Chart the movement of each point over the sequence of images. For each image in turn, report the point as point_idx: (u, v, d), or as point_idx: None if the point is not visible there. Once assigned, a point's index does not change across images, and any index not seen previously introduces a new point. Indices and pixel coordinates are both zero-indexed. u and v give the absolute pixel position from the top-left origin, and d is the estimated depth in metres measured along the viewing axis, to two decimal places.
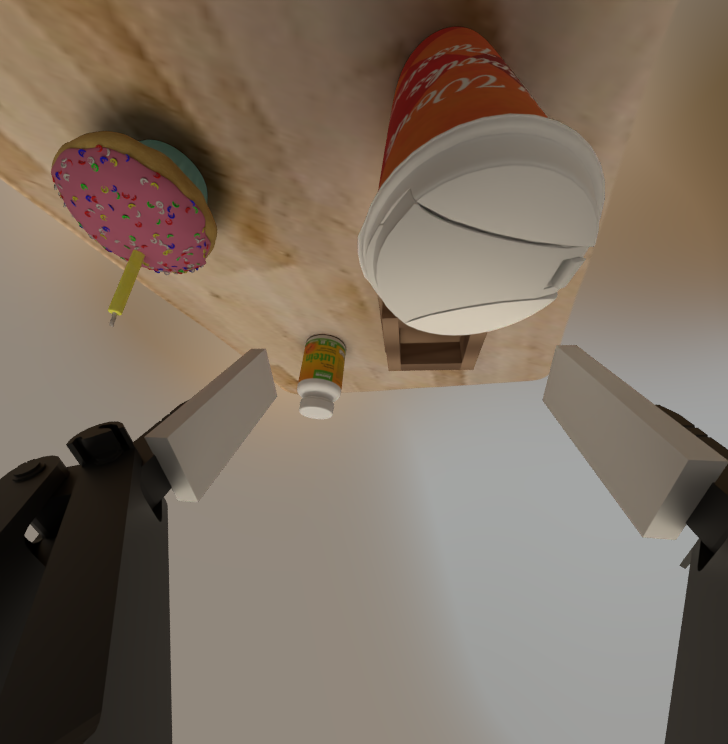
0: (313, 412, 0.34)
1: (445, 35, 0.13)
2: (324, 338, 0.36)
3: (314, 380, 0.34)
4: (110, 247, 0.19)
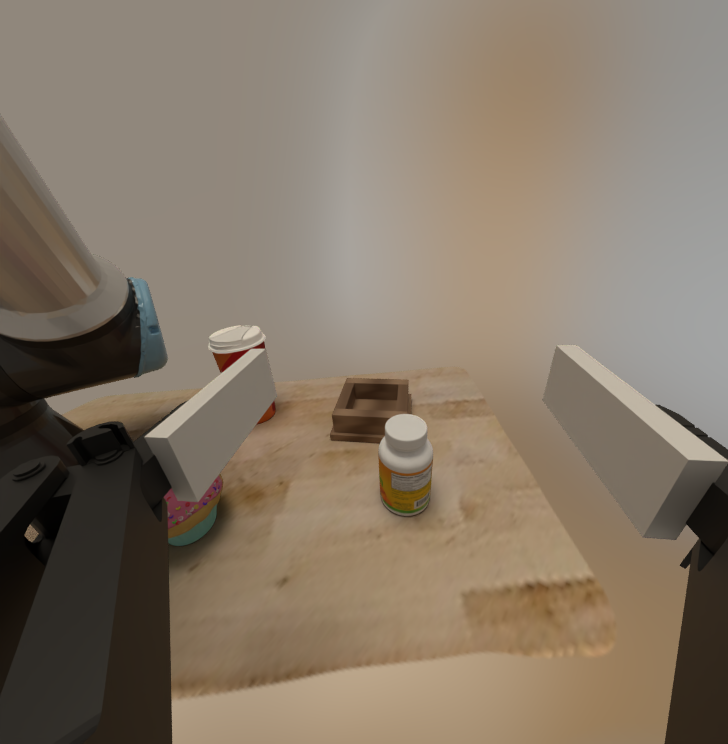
0: (402, 427, 0.27)
1: None
2: None
3: None
4: None
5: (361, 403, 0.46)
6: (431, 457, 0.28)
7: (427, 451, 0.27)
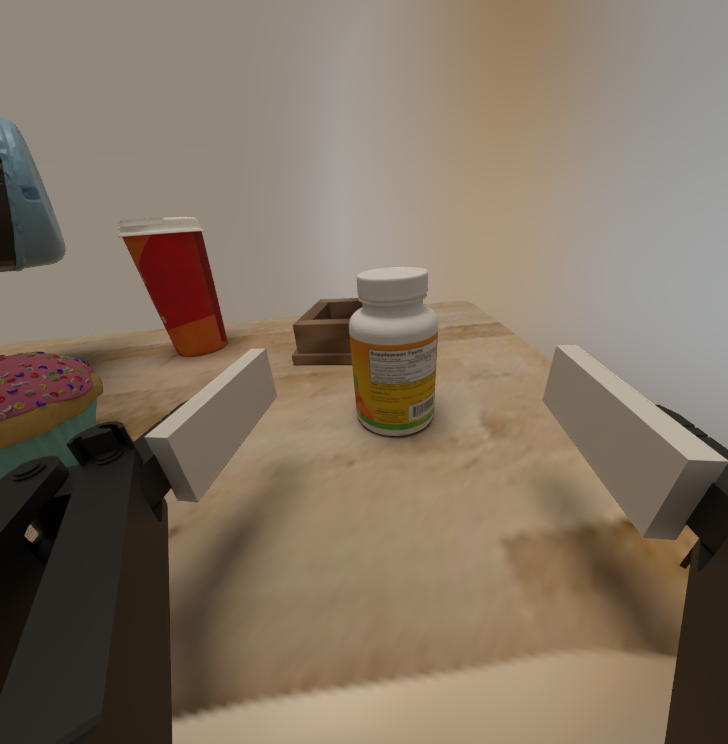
0: (385, 273, 0.16)
1: None
2: None
3: None
4: None
5: None
6: (435, 325, 0.16)
7: (428, 313, 0.16)
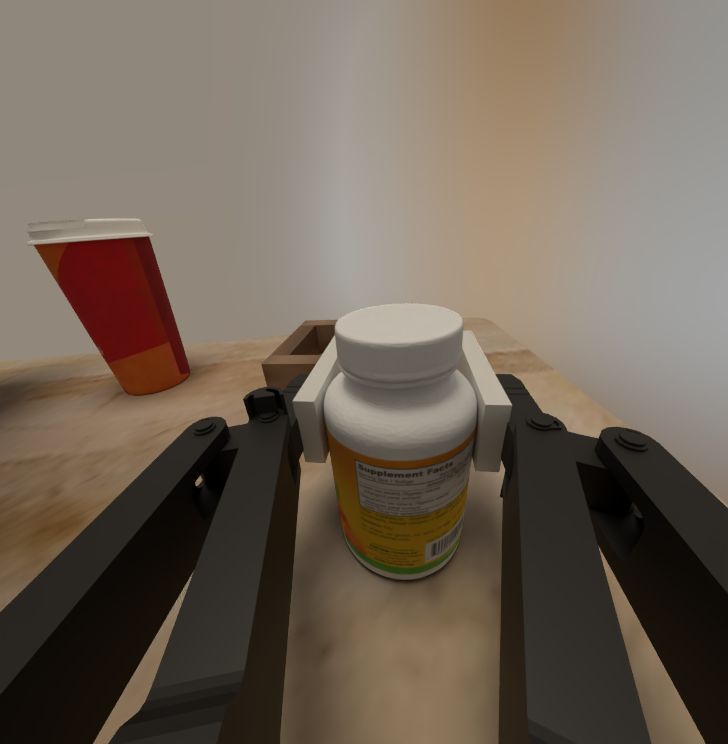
0: (386, 321, 0.09)
1: None
2: None
3: None
4: None
5: None
6: (475, 413, 0.09)
7: (463, 394, 0.09)
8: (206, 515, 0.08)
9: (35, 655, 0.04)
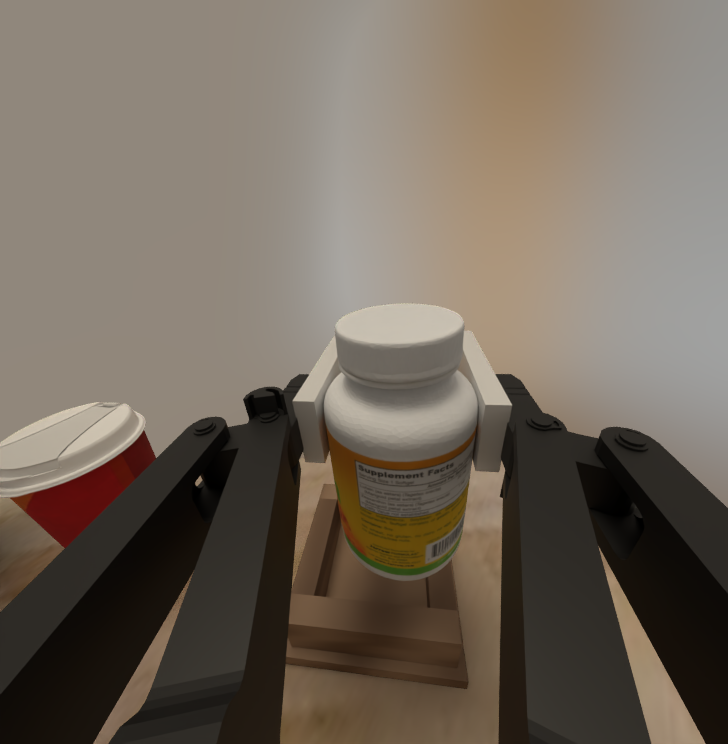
0: (386, 321, 0.09)
1: None
2: None
3: None
4: None
5: None
6: (476, 413, 0.09)
7: (464, 394, 0.09)
8: (206, 515, 0.08)
9: (35, 655, 0.04)
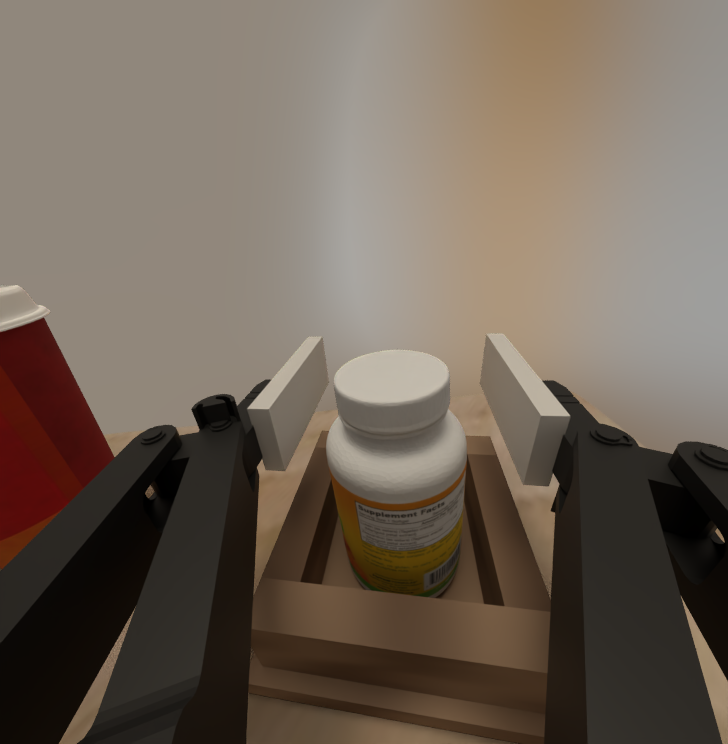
0: (380, 374, 0.10)
1: None
2: None
3: None
4: None
5: None
6: (464, 454, 0.10)
7: (452, 437, 0.10)
8: (160, 525, 0.08)
9: None
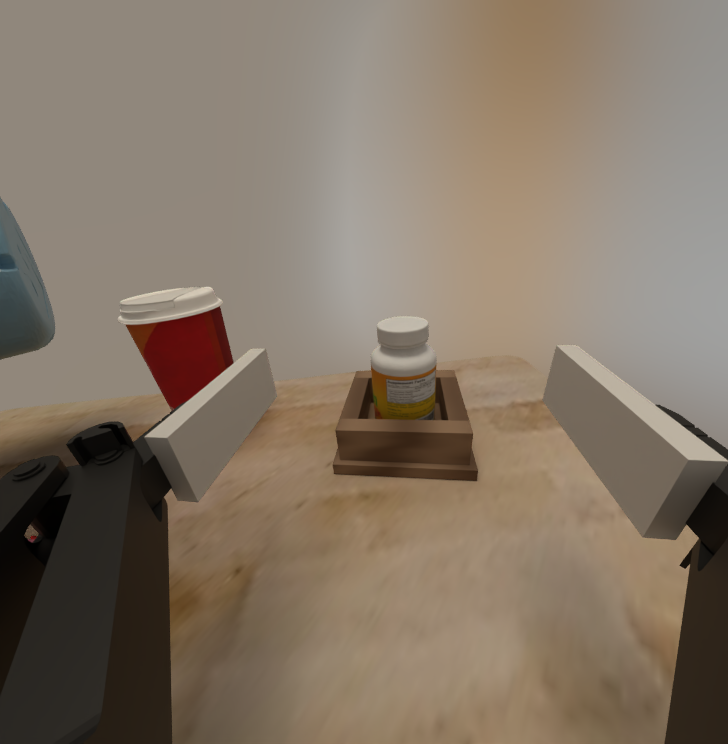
0: (398, 324, 0.22)
1: None
2: None
3: None
4: None
5: None
6: (434, 360, 0.23)
7: (429, 352, 0.23)
8: None
9: None
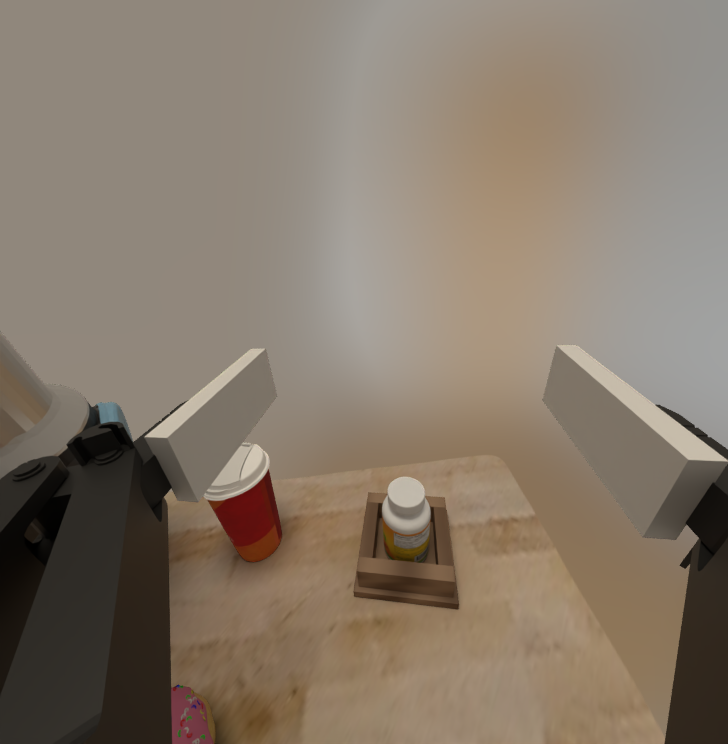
0: (403, 492, 0.31)
1: None
2: None
3: None
4: None
5: None
6: (429, 518, 0.31)
7: (425, 513, 0.31)
8: None
9: None
